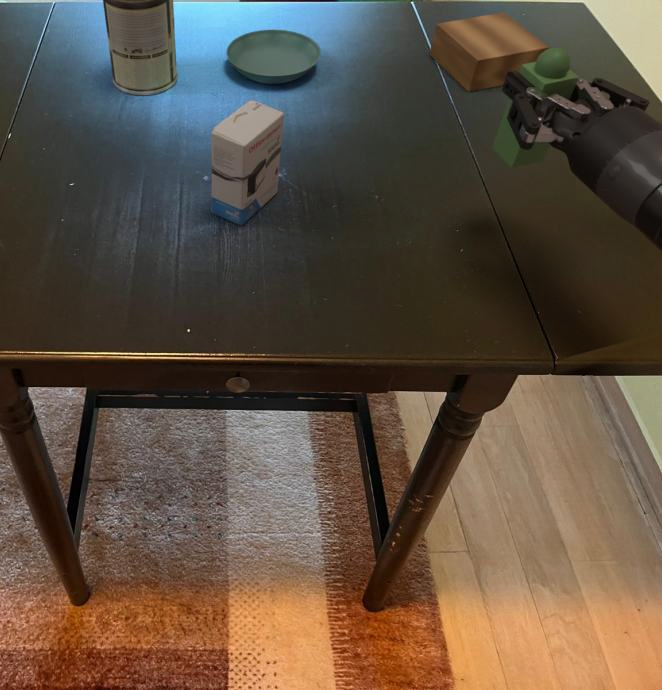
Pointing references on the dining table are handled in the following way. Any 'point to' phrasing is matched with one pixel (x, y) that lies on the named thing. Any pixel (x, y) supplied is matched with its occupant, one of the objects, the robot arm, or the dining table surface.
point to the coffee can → (141, 45)
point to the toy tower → (536, 104)
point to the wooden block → (484, 49)
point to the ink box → (246, 161)
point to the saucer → (273, 55)
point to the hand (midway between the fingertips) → (527, 75)
